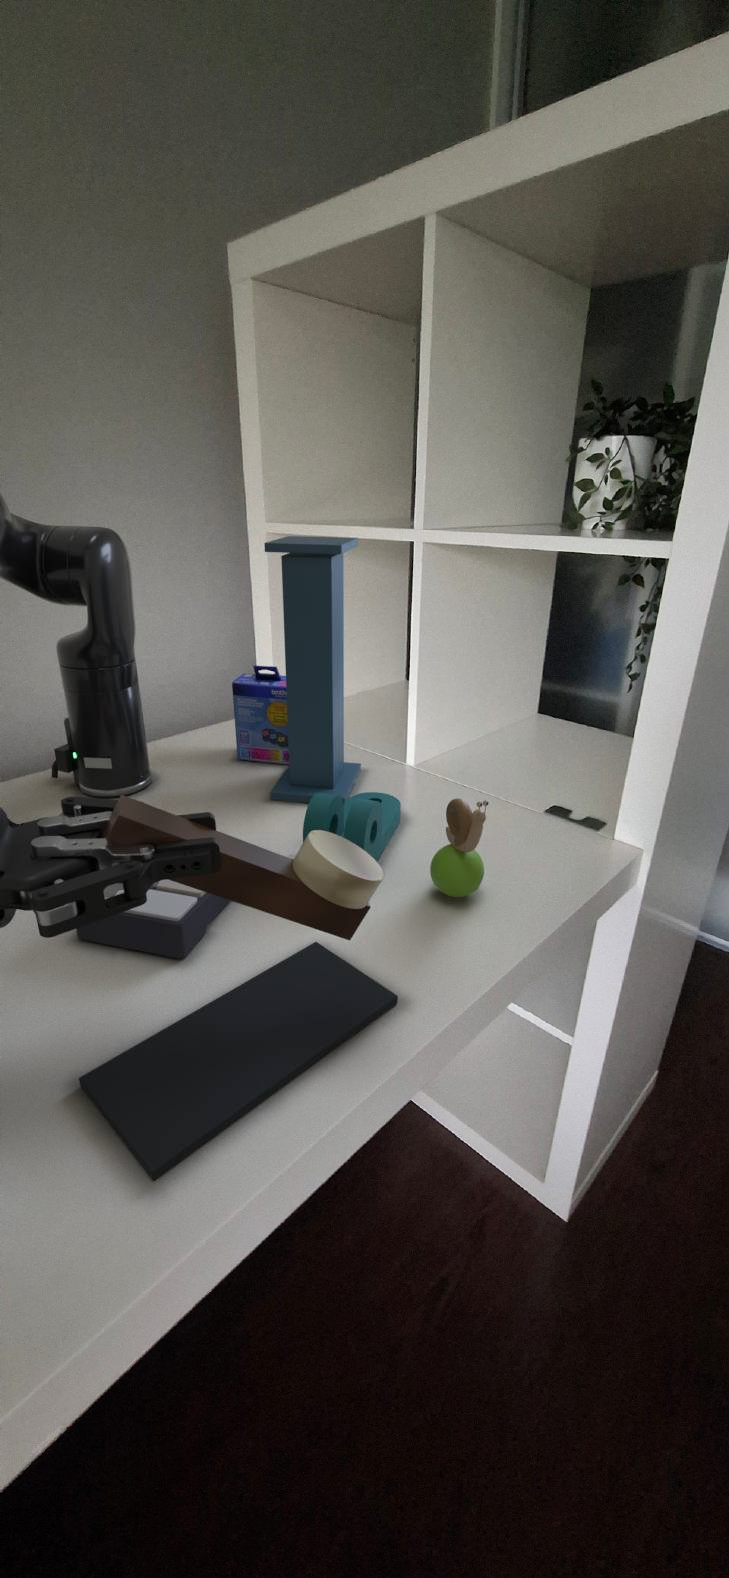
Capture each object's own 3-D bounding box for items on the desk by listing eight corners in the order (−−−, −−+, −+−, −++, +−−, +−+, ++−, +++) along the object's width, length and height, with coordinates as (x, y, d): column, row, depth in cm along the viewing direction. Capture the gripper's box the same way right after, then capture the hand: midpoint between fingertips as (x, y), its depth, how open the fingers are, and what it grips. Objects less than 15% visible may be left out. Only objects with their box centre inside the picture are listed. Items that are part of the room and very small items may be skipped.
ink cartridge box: (235, 761, 103) (228, 665, 97) (248, 748, 108) (242, 656, 102) (298, 766, 101) (295, 670, 95) (309, 753, 106) (306, 660, 100)
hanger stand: (344, 806, 89) (344, 545, 76) (270, 800, 91) (257, 543, 77) (360, 770, 100) (363, 537, 87) (294, 765, 101) (286, 535, 88)
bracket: (363, 885, 72) (364, 818, 69) (303, 874, 74) (301, 808, 71) (405, 812, 88) (408, 755, 84) (355, 804, 89) (355, 748, 86)
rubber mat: (153, 1181, 42) (152, 1172, 41) (80, 1086, 48) (78, 1077, 48) (397, 1003, 56) (398, 995, 56) (316, 948, 62) (315, 941, 62)
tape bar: (95, 868, 40) (134, 790, 38) (103, 823, 45) (137, 753, 44) (355, 953, 47) (395, 890, 46) (335, 905, 52) (370, 848, 51)
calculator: (251, 843, 72) (179, 917, 59) (253, 879, 74) (183, 960, 60) (158, 829, 75) (68, 897, 61) (162, 865, 76) (75, 938, 63)
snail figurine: (450, 917, 67) (458, 807, 62) (419, 884, 72) (425, 780, 67) (497, 905, 69) (509, 797, 64) (464, 874, 74) (472, 772, 69)
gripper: (-149, 881, 32) (222, 840, 37) (-64, 769, 45) (206, 748, 49) (-106, 1005, 36) (231, 954, 40) (-38, 869, 48) (214, 841, 52)
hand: (216, 840), depth 44 cm, fingers closed on tape bar, 3 cm apart
